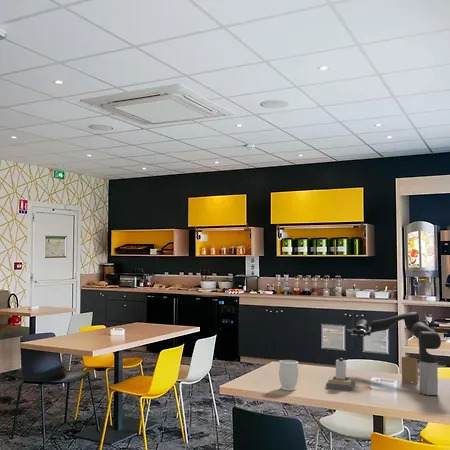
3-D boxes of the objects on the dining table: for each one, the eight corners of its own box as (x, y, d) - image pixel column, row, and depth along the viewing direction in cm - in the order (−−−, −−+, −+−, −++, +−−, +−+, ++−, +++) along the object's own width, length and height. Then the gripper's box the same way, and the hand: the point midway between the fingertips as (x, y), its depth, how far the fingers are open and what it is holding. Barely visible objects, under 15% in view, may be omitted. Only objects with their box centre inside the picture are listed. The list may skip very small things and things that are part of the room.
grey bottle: (345, 381, 304) (346, 358, 305) (344, 383, 299) (344, 359, 300) (337, 380, 306) (337, 357, 306) (335, 382, 301) (335, 358, 302)
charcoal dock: (354, 385, 306) (355, 377, 306) (351, 390, 293) (351, 382, 293) (330, 382, 311) (330, 375, 311) (326, 388, 298) (326, 379, 298)
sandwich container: (419, 379, 328) (419, 354, 330) (416, 383, 315) (416, 358, 316) (404, 377, 332) (404, 352, 333) (401, 382, 318) (401, 356, 319)
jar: (275, 389, 291) (276, 361, 292) (282, 386, 300) (283, 358, 302) (294, 392, 286) (294, 363, 287) (300, 388, 296) (301, 360, 297)
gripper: (348, 323, 336) (344, 326, 321) (372, 325, 331) (369, 328, 316) (348, 335, 335) (344, 339, 320) (372, 337, 330) (369, 340, 315)
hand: (357, 333), depth 318 cm, fingers open, 8 cm apart
